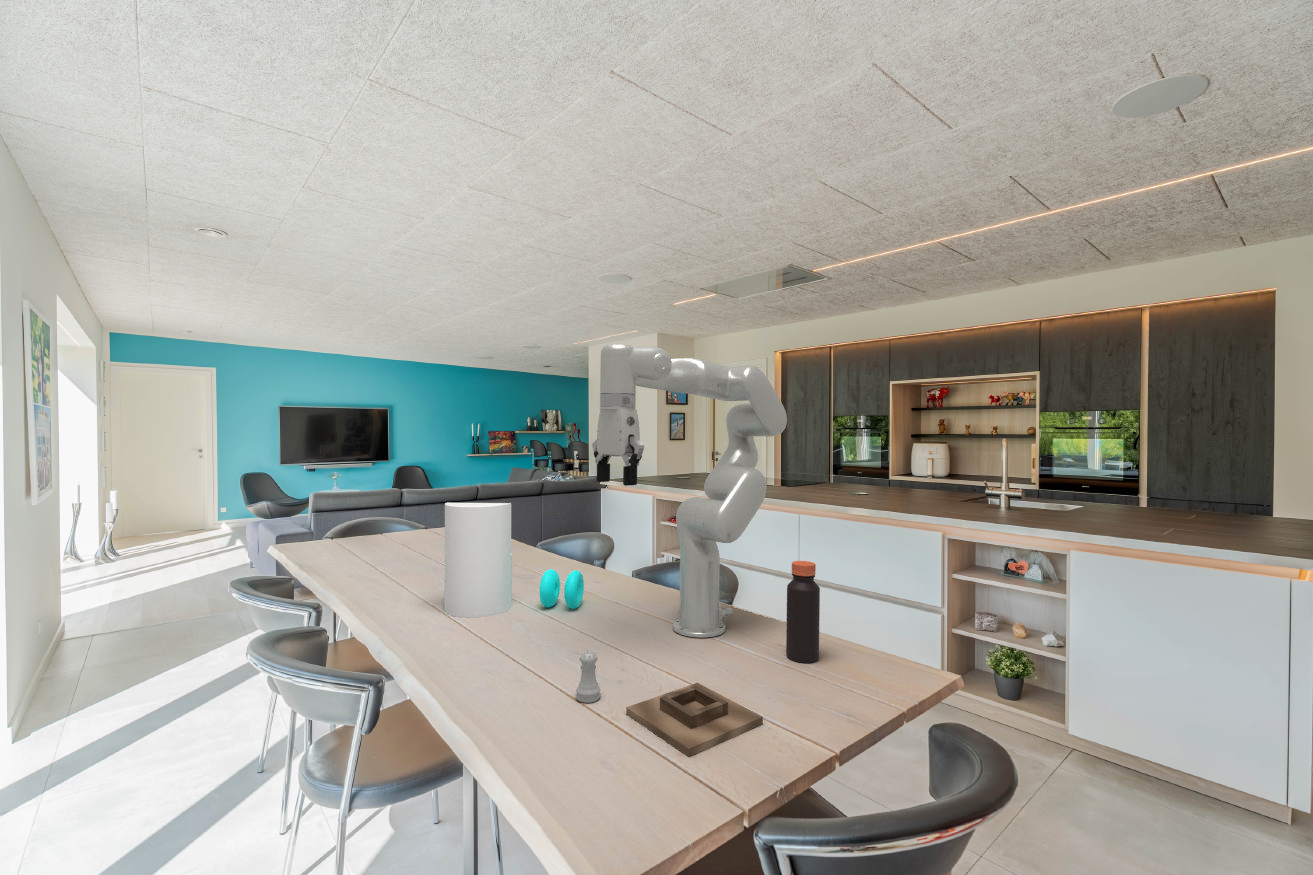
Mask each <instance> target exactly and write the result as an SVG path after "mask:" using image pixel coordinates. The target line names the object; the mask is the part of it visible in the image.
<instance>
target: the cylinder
mask: <svg viewBox="0 0 1313 875" xmlns="http://www.w3.org/2000/svg"><path fill="white" fill-rule="evenodd" d="M512 606H513V553H512V503H511V502H508V503H507V502H445V503H444V613H445V614H446V615H448V616H451V617H456V618H468V619H469V618H470V619H471V618H483V617H490V616H495V615H499V614H502V613H505V612H507V611H509V610H510V609H511V608H512Z"/></svg>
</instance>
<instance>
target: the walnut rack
mask: <svg viewBox="0 0 1313 875" xmlns="http://www.w3.org/2000/svg"><path fill="white" fill-rule="evenodd" d="M625 712H626V714H625V715H626V716H628V717H629V718H631V719H632V720H633V721H635V722H637V723H638V724H639V725H641V726H643V727H644V728H646V729H647V730H648V731H650V732H651V733H653V734H655V735H656V736H657V737H659V738H660V739H662V740H664V742H666V743H667V744H668V745H670V746H672V747H673V748H674V749H676V750H678V751H679V752H681V753H682V754H684V755H685V756H686V757H688V758H690V757H691V756H694V755H696V754H699V753H701V752H703V751H706V750H708V749H710V748H712V747H715V746H717V745H719V744H721V743H724V742H726V741H728V740H731V739H732V738H735V737H736V736H739V735H742V734H744V733H746V732H748V731H750V730H752V729H756V728H758V727H759V726H762V725H763V724H764V717H763V716H762V715H761V714H758V713H757V712H755V711H753V710H751V709H748V708H747V707H745V706H743V705H741V704H739V703H737V702H735V701H734V700H731V698H727V697H726V696H724V695H722V694H720V693H718V692H716V691H714V690H712V689H710V688H708V687H706V686H705V685H703V684H701V683H699V682H696V683H693V684H690V685H687V686H683V687H681V688H678V689H674V690H672V691H669V692H667V693H663V694H661V695H658V696H655V697H652V698H649V699H646V700H644V701H641V702H637V703H635V704H632V705H630V706H626V711H625Z"/></svg>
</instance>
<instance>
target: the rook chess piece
mask: <svg viewBox="0 0 1313 875" xmlns="http://www.w3.org/2000/svg"><path fill="white" fill-rule="evenodd" d="M596 654H597V653H596V652H595V651H593V650H591V651H590V650H586V651H582V653H581V654H580V655H581V656H580V657H579V658H578V659H579V660H578V661H580V664H581V665H580V670H581V674H580V681H579V683H578V686H577V687H576V690H575V692H576V694H575V699H576V700H577V701H578V702H580V703H583V704H592V703H595V702H597V701H598V700H599V699H600V698H601V695H602V694H601V693H600V692H601V688H600V686H599V683H598V682H597V676H596V669H597V666H596V662H597V661H598V660H599V659H598V656H597V655H596Z"/></svg>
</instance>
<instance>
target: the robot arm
mask: <svg viewBox="0 0 1313 875" xmlns="http://www.w3.org/2000/svg"><path fill="white" fill-rule="evenodd" d="M599 366H600V371H599V372H600V373H599V374H600V377H599V378H600V379H599V380H600V382H599V384H600V385H599V393H600V394H599V415H598V422H597V429H596V430H597V432H596V433H597V434H596V439H595V441H594V442H592V444H591V446H592V451H593V456H594V458H595V460H594V462H595V464H596V483H607V482H609V483H610V480H611V463H610V459H611V458H612V457H621V458H622V461H623V462H624V465H623V470H622V471H623V472H622V474H623V476H622V478H623V479H622V484H623V486H625V487H627V486H637V484H638V467H639V465H640V461H641V459H642V458H643V453H644V449H645V445H644V444H643V443H642V442H641V440H640V439H641V435H640V424H639V423H640V422H639V414H638V410H637V409H636V387H640V388H646V389H651V390H652V389H653V390H661V391H667V392H672V393H677V394H678V393H679V394H689V395H694V396H700V397H704V398H709V399H713V400H717V401H721V402H742V401H743V402H744V401H748V402H747V403H746V402H745V403H739V404H735V405H734V406H732V407H731V408H730V409H729V410H728V412H727V414H726V418H725V423H726V424H725V425H726V432H727V436H728V437H727V439H728V441H727V442H728V443H727V444H728V445H727V448H726V450H725V451H724V453H723V455H722V456H721V457H720V459H719V460H718V462H717V463H716V464H715V466H714V467H713V469H712V470H711V471H710V473H708V476H707V477H706V479H705V482H704V484H703V485H704V486H703V489H704V493H705V495H706V497H701V496H700V497H699V496H698V497H690V498H687V499H685V500H683V501H682V502H681V503H680V505H679V506H678V508H677V511H676V516H675V518H676V519H675V521H676V528H677V534H678V540H679V613H678V615H679V616H678V617H679V618H677V619H676V620H674V621H673V623H672V629H673V630H674V632H676V633H677V634H679V635H681V636H686V637H689V638H701V639H702V638H704V639H705V638H713V637H718V636H721V635H722V634H724V633H725V632H726V624H725V623H724V621H723V619H725V618H727V617H731V616H732V615H733V614H734V611H733V609H732V607H726V608H724V609H722V608H721V607H720V566H721V565H720V564H721V561H720V560H721V559H720V558H721V557H720V551H719V546H718V544H717V543H721V544H732V543H733V542H735V541H737V540H738V539H740V537H741V536H742V535H743V533H744V532H745V531H746V529H747V527H748V526H749V524H750V523H751V521H752V520H753V518H755V517H754V516H756V514H757V512H758V510H759V509H760V507H761V506H762V504H763V502H764V500H765V498H766V494H767V485H768V484H767V480H766V477H765V475H764V474H763V473H762V472H761V471H760V470H758V469H757V468H756V467H757V464H758V462H759V454H758V451H757V450H758V449H757V445H756V442H755V439H754V437H771V438H772V437H776V436H778V435H781V434H782V433H783V432H784V430H785V429H786V427H787V425H788V424H787V423H788V416H787V412H786V409H785V407H784V405H783V402H782V401H781V399H780V397H779V396H778V394H777V392H776V390H775V388H774V387H773V385H772V383H771V381H770V380H769V379H768V377H767V375H766V374H765V373H764V372H763V371H762V370H761V369H760V368H759V367H757V366H756V365H751V364H748V365H740V366H728V365H723V364H720V363H715V362H711V361H708V360H704V359H700V358H695V357H693V358H690V357H684V358H683V357H682V358H681V357H680V358H671V356H670V354H669V353H668V352H667V351H666V350H665V349H663V348H661V347H657V346H632V345H628V344H621V343H612V344H610V343H609V344H606V345H604V346H602V348H601V350H600V365H599Z"/></svg>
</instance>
